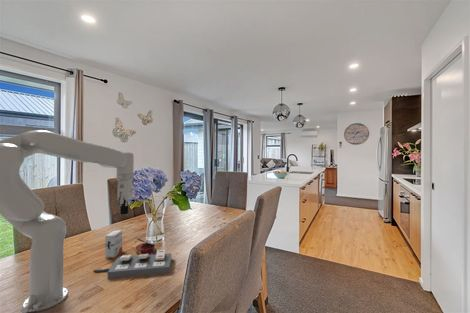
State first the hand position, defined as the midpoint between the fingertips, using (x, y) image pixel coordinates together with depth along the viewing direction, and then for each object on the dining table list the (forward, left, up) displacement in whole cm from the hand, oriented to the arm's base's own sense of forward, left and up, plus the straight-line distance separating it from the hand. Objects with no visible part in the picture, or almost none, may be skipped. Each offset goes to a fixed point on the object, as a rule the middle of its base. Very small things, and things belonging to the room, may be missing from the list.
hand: (124, 213), depth 108 cm
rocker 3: (-4, -18, -20) cm, 27 cm away
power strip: (-6, -6, -25) cm, 26 cm away
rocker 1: (-4, -2, -20) cm, 21 cm away
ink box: (+12, +8, -25) cm, 29 cm away
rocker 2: (-4, -10, -20) cm, 23 cm away
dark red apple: (+13, -8, -26) cm, 30 cm away
